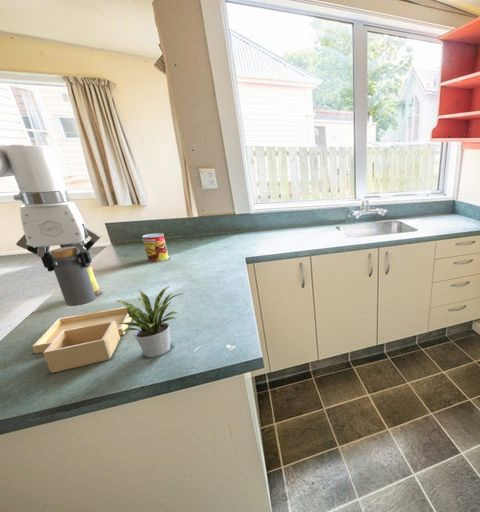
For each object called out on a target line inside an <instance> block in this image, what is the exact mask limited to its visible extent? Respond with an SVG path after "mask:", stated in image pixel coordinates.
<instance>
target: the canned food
mask: <svg viewBox="0 0 480 512" xmlns="http://www.w3.org/2000/svg"><path fill="white" fill-rule="evenodd" d="M142 241H143V244H144V250H145V252H146V253H145V254H146V257H147V260H148V262H150V263H158V262H164V261H167V260H168V259H169V258H170V257H169V253H168V248H167V244H166V239H165V235H164V233H161V232H157V233H155V232H154V233H148V234H144V235H142Z"/></svg>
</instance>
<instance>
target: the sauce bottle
mask: <svg viewBox="0 0 480 512" xmlns="http://www.w3.org/2000/svg"><path fill="white" fill-rule="evenodd" d="M64 247H76V246H75V245H74V244H65V245H59V248H64ZM77 253H80V250H79V249H78V248H77ZM79 261H81V260H80V258H79ZM86 268H87V271H88V274H89V277H90V280H91V283H92V286H93V290H94V293H95V296H96V297H97V296H99V295H100V293H101V290H100V287H99V284H98V281H97V279H96V277H95V274H94V270H93V269H92V266H91V264H90V265H89V266H88V267H86Z"/></svg>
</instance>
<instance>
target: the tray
mask: <svg viewBox="0 0 480 512" xmlns="http://www.w3.org/2000/svg"><path fill="white" fill-rule="evenodd" d="M111 312H114V313H111ZM118 312H121V313H118ZM124 313H125V314H124ZM132 320H133V319H132V318H131V317H129V315H128V313H127V307H126V306H123V307H118V308H112V309H106V310H101V311H95V312H89V313H84V314H78V315H77V314H76V315H72V316H67V317H61V318H57V319H56V321H55V322H54V323H53V324H52V325H51V326H50V327H49V328H48V329H47V330H46V331H45V332H44V333H43V334H42V336H41V337H39V339H38V340H36V342H35V343H34V344H33V345H32V346H31V347H32V350H33V351H34V352H33V353H34V354H35V355H36V354H40V353H43V352H44V351H45V350H46V349H47V348H48V347H49V345H50V344H51V343H52V342H53V341H54V340H55V338H56V337H57V336H58V335H59V334H60V332H61V331H63V330H68V329H73V328H79V327H84V326H89V325H95V324H100V323H105V322H110V321H115V322H116V325H117V329H118V332H119V335H120V337H122V336H125V334H126V332H127V331H124V332H122V331H123V330H125V329H127V328H129V326H130V325H126V324H118V323H124V322H131V321H132ZM121 332H122V333H121Z"/></svg>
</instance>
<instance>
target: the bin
mask: <svg viewBox="0 0 480 512" xmlns="http://www.w3.org/2000/svg"><path fill="white" fill-rule="evenodd" d="M120 340H121V336H120V335H119V332H118V329H117V325H116V322H115V321H110V322H105V323H100V324H95V325H89V326H84V327H79V328H73V329H68V330H63V331H61V332H60V334H59V335H58V336H57V337H56V338H55V340H54V341H53V342H52V343H51V344H50V345H49V347H48V348H47V349H46V350H45V351H44V352H42V354H43V357H44V359H45V361H46V363H47V366H48V368H49V371H50V373H51V374H53V373H58V372H61V371H65V370H70V369H73V368H79V367H83V366H87V365H91V364H96V363H100V362H104V361H109V360H111V358H112V357H113V356H112V355H113V354H114V352H115V350H116V348H117V346H118V344H119V342H120Z"/></svg>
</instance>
